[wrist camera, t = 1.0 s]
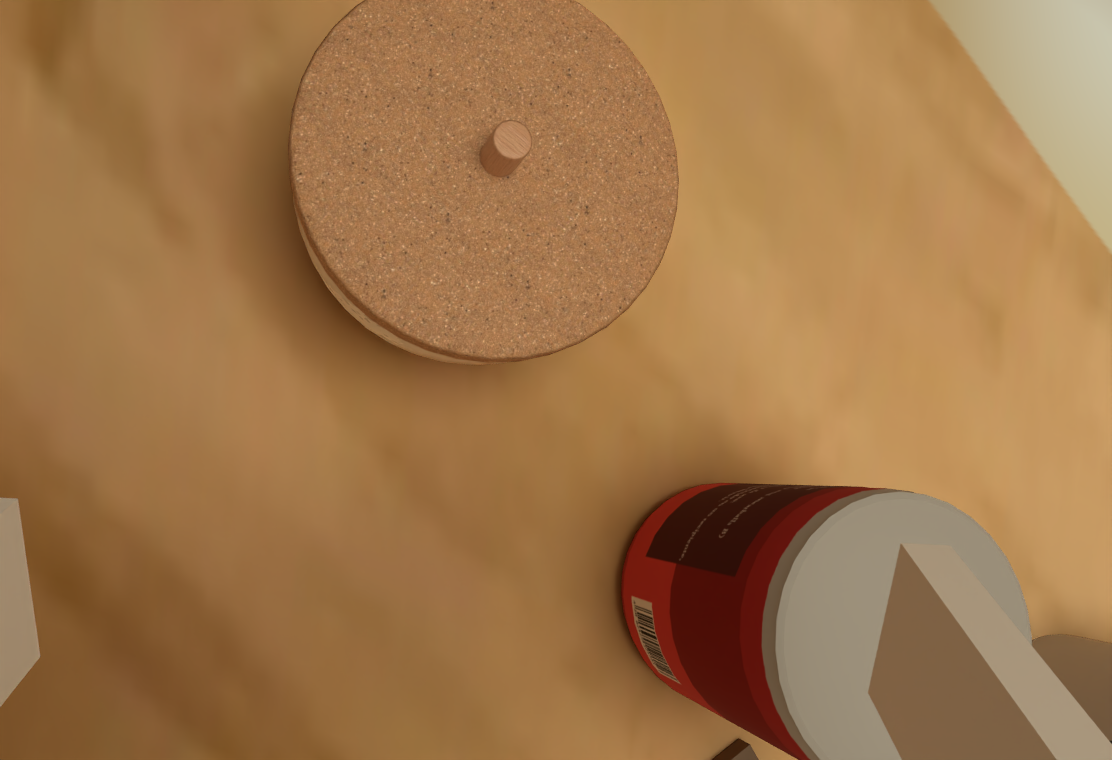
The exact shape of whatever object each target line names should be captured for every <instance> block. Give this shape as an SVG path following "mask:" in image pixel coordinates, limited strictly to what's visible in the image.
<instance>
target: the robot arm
mask: <svg viewBox="0 0 1112 760" xmlns="http://www.w3.org/2000/svg"><path fill="white" fill-rule="evenodd" d="M39 658H40V650H39V643H38V636H37V629H36V622H35V615H34V608H33V601H32V594H31V587H30V580H29V573H28V566H27V559H26V552H25V545H24V538H23V531H22V524H21V518H20V511H19V504H18V499H16V498H0V707H1V705H2V704H3V703H4V702H5V700H6V699H7V698H8V697H9V695H10V694H11V693H12V692H13V690H14V689H15V688H16V687H17V685H18V684H19V683H20V682H21V680H22V679H23V678H24V677H25V675H26V674H27V673H28V672H29V670H30V669H31V668H32V667H33V665H34V664H35V663H36V662H37V660H38V659H39ZM868 694H869V696H870V698H871V700H872V702H873V704H874V706H875V707H876V709H877V711H878V713H879V715H880V717H881V719H882V721H883V723H884V725H885V727H886V729H887V731H888V733H889V735H890V737H891V739H892V741H893V743H894V745H895V747H896V749H897V751H898V753H899V755H900V757H901V759H902V760H1112V741H1109V740H1108V739H1107V738H1106V737H1105V735H1104V734H1103V733H1102V732H1101V730H1100V729H1099V728H1098V727H1097V725H1096V724H1095V723H1094V722H1093V721H1092V719H1091V718H1090V717H1089V716H1088V714H1087V713H1086V712H1085V711H1084V709H1083V708H1082V707H1081V706H1080V705H1079V703H1078V702H1077V701H1076V700H1075V698H1074V697H1073V696H1072V695H1071V693H1070V692H1069V691H1068V690H1067V689H1066V687H1065V686H1064V685H1063V684H1062V682H1061V681H1060V680H1059V679H1058V677H1057V676H1056V675H1055V674H1054V673H1053V671H1052V670H1051V669H1050V668H1049V666H1048V665H1047V664H1046V663H1045V661H1044V660H1043V659H1042V658H1041V657H1040V655H1039V654H1038V653H1037V652H1036V650H1035V649H1034V648H1033V647H1032V645H1031V644H1030V643H1029V642H1028V641H1027V639H1026V638H1025V637H1024V636H1023V634H1022V633H1021V632H1020V631H1019V629H1018V628H1017V627H1016V626H1015V625H1014V623H1013V622H1012V621H1011V620H1010V618H1009V617H1008V616H1007V615H1006V613H1005V612H1004V611H1003V610H1002V609H1001V607H1000V606H999V605H998V604H997V602H996V601H995V600H994V599H993V597H992V596H991V595H990V594H989V593H988V591H987V590H986V589H985V588H984V586H983V585H982V584H981V583H980V581H979V580H978V579H977V578H976V577H975V575H974V574H973V573H972V572H971V570H970V569H969V568H968V567H967V565H966V564H965V563H964V562H963V561H962V559H961V558H960V557H959V556H958V554H957V553H956V552H955V551H954V549H953V548H952V547H951V546H950V545H932V544H912V543H901V544H900V549H899V553H898V558H897V562H896V567H895V571H894V576H893V581H892V585H891V590H890V594H889V599H888V603H887V608H886V612H885V617H884V621H883V626H882V630H881V635H880V640H879V644H878V649H877V653H876V658H875V662H874V667H873V671H872V676H871V680H870V685H869V690H868Z"/></svg>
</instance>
